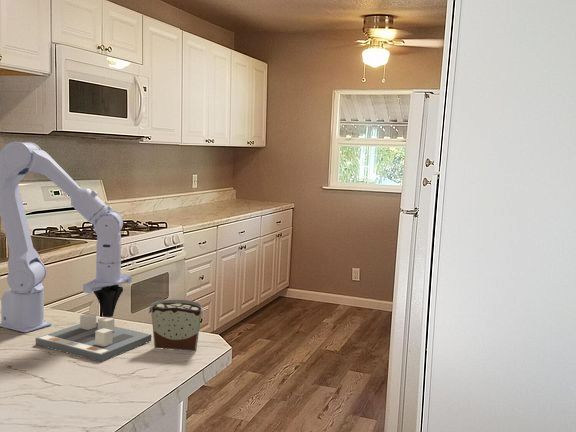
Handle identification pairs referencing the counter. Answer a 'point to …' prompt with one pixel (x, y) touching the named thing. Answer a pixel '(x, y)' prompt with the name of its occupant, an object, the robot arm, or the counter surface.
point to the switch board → (92, 342)
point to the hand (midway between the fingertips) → (107, 316)
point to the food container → (176, 324)
